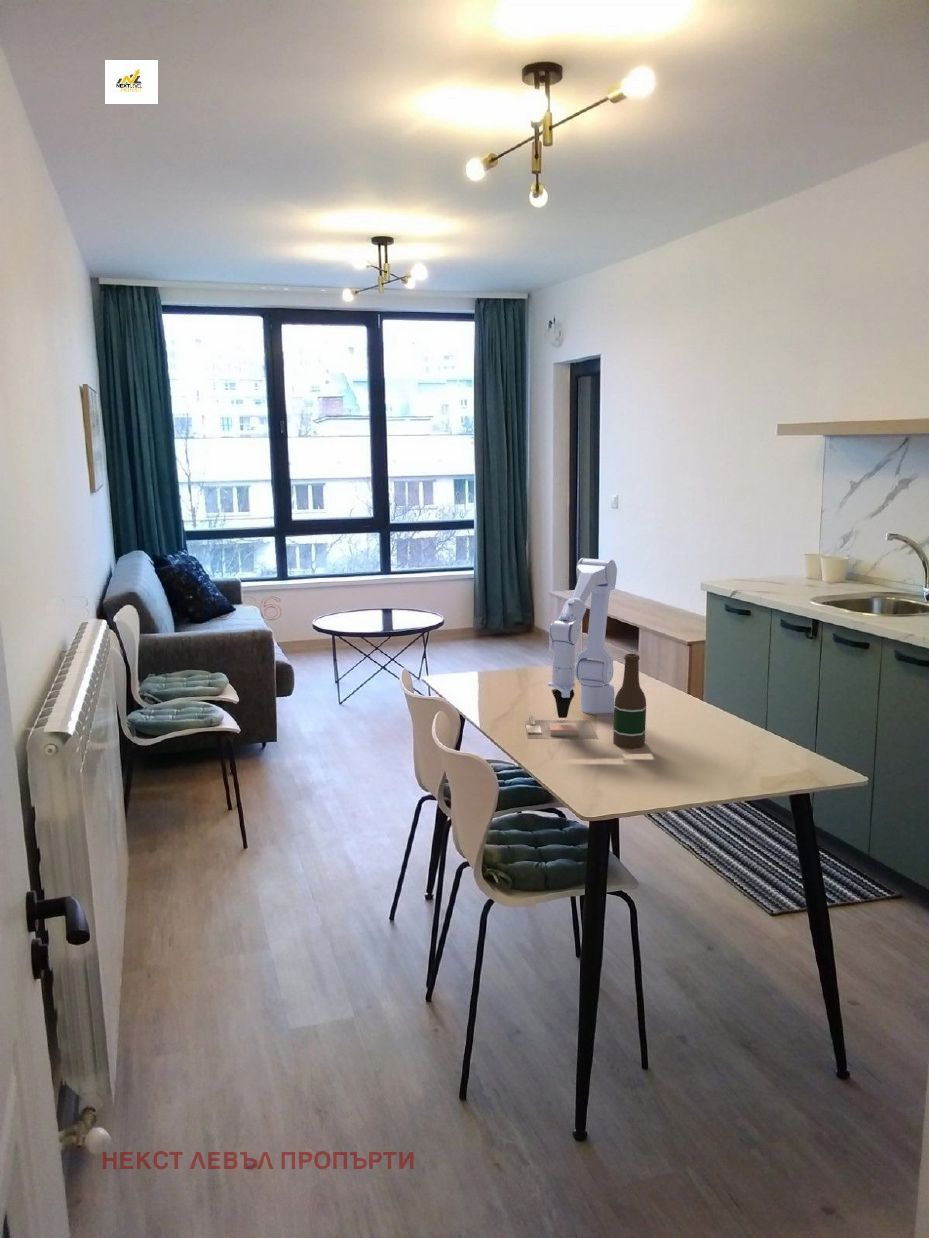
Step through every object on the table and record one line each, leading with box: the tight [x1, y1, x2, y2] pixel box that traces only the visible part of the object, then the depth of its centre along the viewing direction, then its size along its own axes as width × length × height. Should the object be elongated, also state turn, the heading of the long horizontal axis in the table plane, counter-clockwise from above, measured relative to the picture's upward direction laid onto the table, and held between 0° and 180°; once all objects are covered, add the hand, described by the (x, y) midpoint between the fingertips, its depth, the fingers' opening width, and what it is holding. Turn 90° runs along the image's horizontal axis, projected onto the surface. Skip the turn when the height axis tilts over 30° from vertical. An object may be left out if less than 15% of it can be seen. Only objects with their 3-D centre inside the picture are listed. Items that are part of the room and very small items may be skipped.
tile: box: [549, 723, 578, 736], centre depth 232 cm, size 7×2×6 cm
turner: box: [525, 715, 542, 734], centre depth 237 cm, size 4×14×1 cm, turn 0°
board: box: [523, 719, 599, 740], centre depth 235 cm, size 18×16×1 cm
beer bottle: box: [612, 653, 647, 750], centre depth 221 cm, size 8×8×24 cm
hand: (562, 717), depth 234 cm, fingers closed
